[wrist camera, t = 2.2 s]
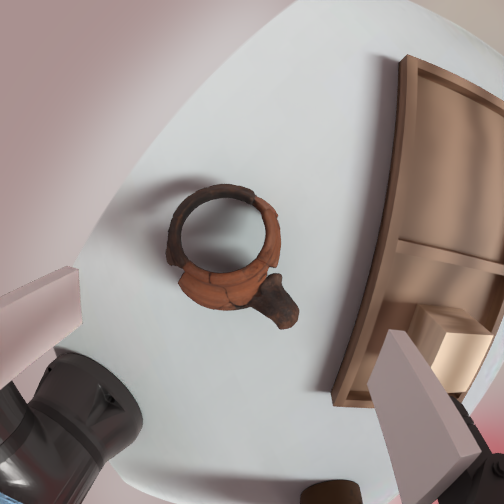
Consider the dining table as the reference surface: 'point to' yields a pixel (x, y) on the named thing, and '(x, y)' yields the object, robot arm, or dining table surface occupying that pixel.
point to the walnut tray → (433, 219)
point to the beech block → (449, 344)
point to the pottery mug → (243, 280)
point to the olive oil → (332, 493)
